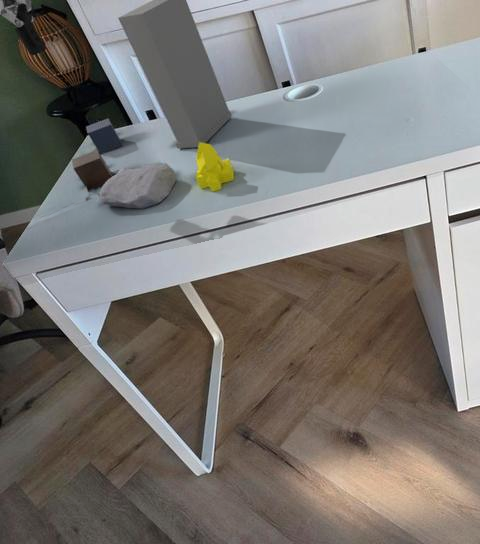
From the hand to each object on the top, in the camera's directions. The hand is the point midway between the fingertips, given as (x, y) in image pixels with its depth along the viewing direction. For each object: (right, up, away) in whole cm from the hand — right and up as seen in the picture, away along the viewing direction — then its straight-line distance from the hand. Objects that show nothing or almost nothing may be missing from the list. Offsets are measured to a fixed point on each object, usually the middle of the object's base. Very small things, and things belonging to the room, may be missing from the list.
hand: (14, 56), depth 77 cm
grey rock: (+16, -21, +10) cm, 28 cm away
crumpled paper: (+30, -18, +9) cm, 36 cm away
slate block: (-1, -6, +32) cm, 32 cm away
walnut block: (+4, -16, +18) cm, 25 cm away
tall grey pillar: (+22, -5, +27) cm, 35 cm away
